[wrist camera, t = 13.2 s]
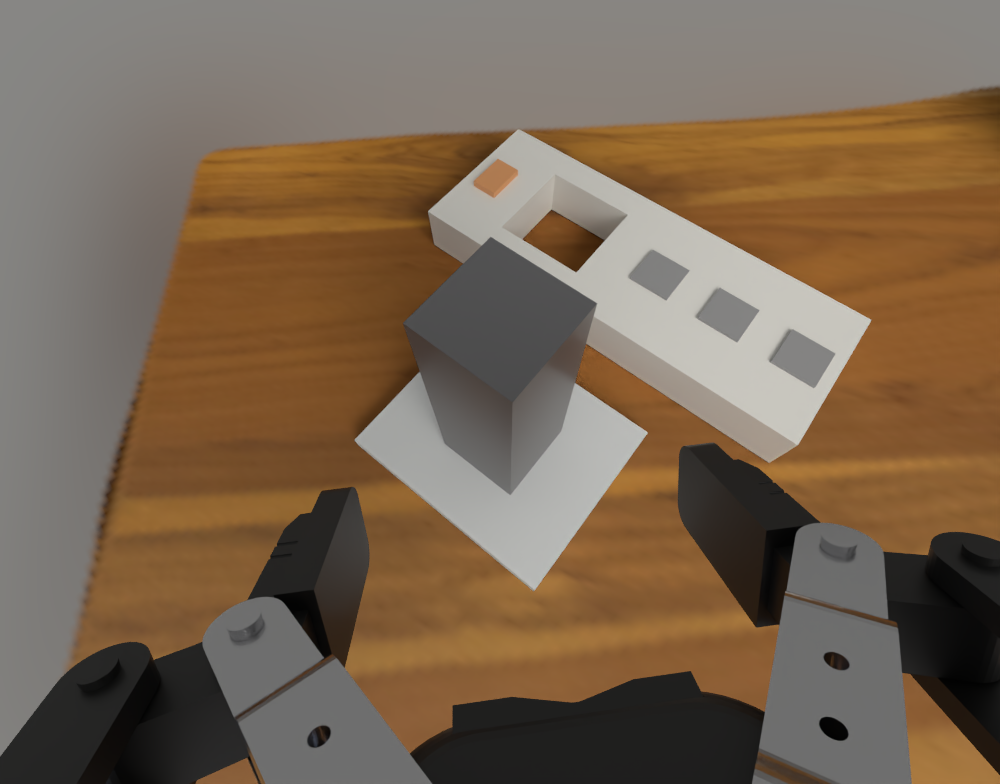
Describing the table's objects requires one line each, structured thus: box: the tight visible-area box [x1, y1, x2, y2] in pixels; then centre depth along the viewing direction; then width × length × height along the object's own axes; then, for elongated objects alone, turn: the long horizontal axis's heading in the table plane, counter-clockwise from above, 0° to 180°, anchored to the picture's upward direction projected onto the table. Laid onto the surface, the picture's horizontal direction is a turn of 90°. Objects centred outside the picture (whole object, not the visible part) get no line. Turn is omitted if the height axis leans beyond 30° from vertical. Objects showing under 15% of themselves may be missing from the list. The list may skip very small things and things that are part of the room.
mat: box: [355, 372, 648, 591], centre depth 28 cm, size 10×12×1 cm
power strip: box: [428, 129, 871, 463], centre depth 31 cm, size 9×24×3 cm, turn 51°
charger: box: [403, 237, 597, 495], centre depth 22 cm, size 4×4×12 cm
